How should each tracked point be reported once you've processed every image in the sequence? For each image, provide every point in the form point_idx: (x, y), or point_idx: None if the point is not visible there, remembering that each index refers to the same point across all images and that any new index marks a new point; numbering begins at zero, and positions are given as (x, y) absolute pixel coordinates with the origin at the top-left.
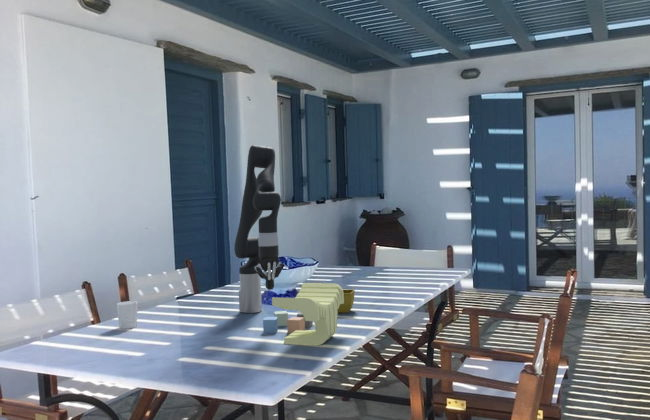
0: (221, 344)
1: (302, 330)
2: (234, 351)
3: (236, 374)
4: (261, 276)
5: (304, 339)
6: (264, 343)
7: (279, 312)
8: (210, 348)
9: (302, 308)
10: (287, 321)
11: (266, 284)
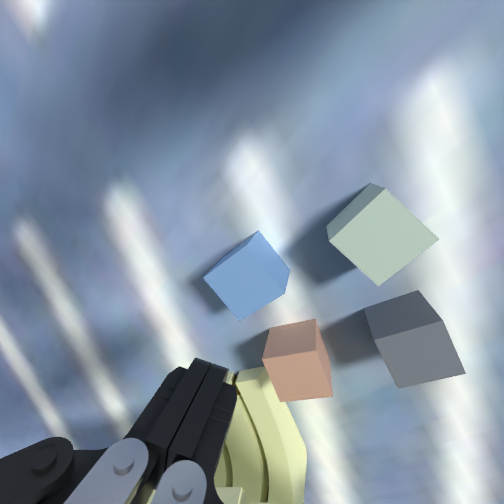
0: (62, 243)
1: (264, 398)
2: (60, 320)
3: (11, 409)
4: (20, 475)
5: None
6: (146, 339)
7: (376, 234)
8: (27, 248)
9: None
10: (263, 356)
11: (153, 404)
